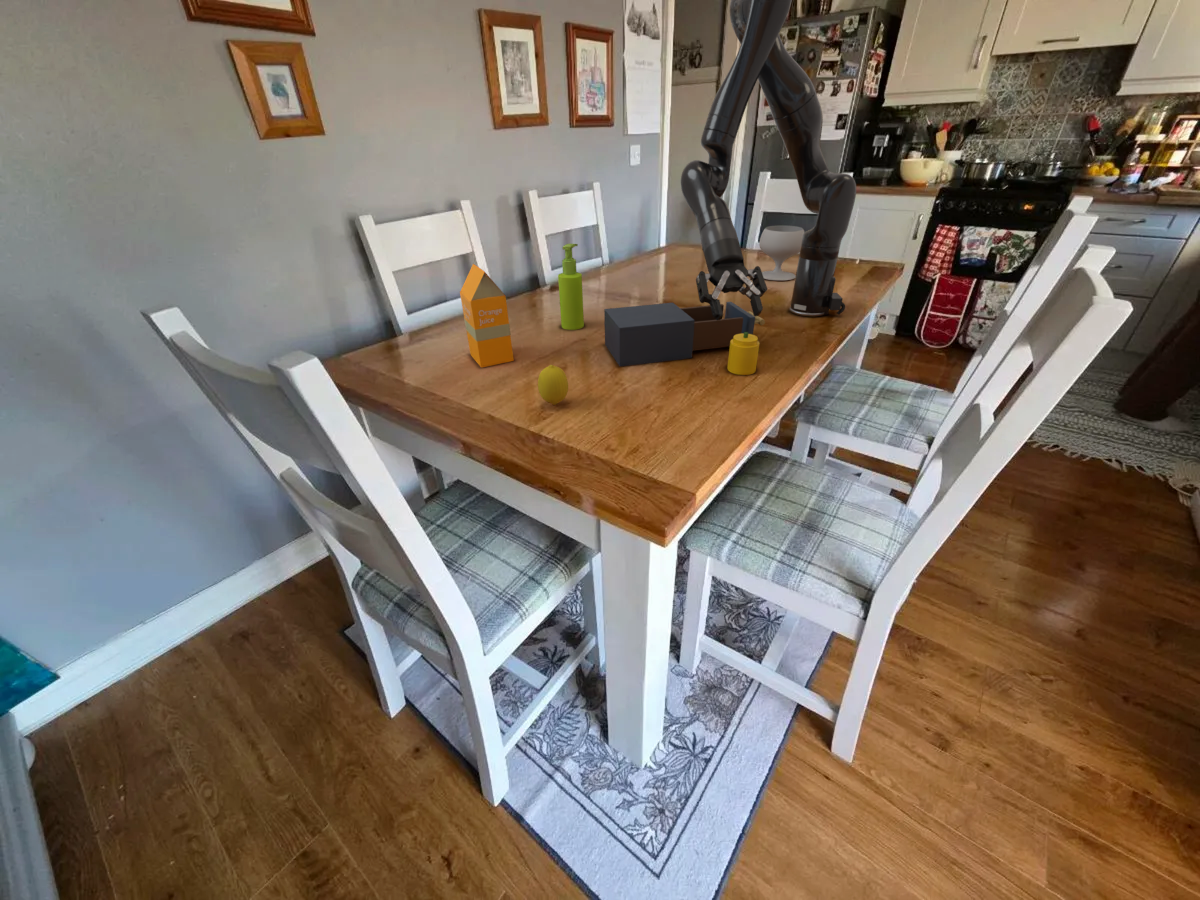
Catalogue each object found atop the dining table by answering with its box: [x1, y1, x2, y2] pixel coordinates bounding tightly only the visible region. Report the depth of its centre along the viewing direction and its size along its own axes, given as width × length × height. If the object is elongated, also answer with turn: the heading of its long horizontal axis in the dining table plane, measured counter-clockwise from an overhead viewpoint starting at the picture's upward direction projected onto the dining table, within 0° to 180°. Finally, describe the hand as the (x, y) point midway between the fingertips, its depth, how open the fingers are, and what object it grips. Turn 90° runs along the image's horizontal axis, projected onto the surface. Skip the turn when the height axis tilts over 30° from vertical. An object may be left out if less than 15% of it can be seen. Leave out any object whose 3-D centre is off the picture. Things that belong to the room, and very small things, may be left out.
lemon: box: [537, 364, 569, 406], centre depth 94 cm, size 6×6×8 cm
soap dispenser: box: [557, 243, 585, 331], centre depth 129 cm, size 6×7×20 cm
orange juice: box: [459, 263, 514, 368], centre depth 111 cm, size 8×9×20 cm
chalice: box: [758, 225, 805, 281], centre depth 167 cm, size 14×14×15 cm
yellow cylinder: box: [726, 332, 761, 376], centre depth 105 cm, size 6×6×8 cm
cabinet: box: [603, 302, 695, 367], centre depth 115 cm, size 17×14×9 cm
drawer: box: [679, 301, 766, 352], centre depth 118 cm, size 20×12×7 cm, turn 103°
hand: (739, 316), depth 106 cm, fingers open, 8 cm apart
